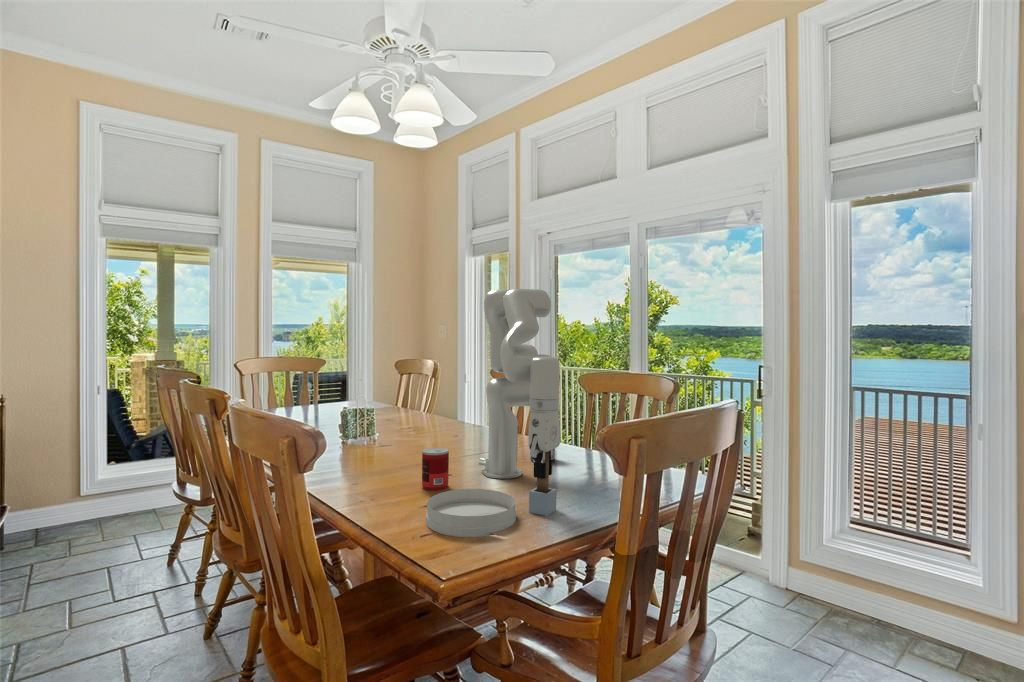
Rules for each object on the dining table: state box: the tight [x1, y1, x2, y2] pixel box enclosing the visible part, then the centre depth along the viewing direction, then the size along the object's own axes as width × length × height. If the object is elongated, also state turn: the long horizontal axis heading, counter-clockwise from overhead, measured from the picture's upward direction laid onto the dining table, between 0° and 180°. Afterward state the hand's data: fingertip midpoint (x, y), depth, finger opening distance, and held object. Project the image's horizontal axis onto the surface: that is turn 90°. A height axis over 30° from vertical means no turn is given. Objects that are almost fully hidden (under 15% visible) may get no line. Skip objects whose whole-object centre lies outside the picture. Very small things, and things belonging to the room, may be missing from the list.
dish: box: [425, 488, 517, 538], centre depth 135 cm, size 22×22×5 cm
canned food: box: [421, 447, 450, 491], centre depth 164 cm, size 8×8×11 cm
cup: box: [528, 486, 557, 517], centre depth 141 cm, size 5×5×6 cm
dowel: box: [536, 451, 550, 493], centre depth 141 cm, size 3×3×14 cm
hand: (542, 475), depth 141 cm, fingers closed on dowel, 3 cm apart
